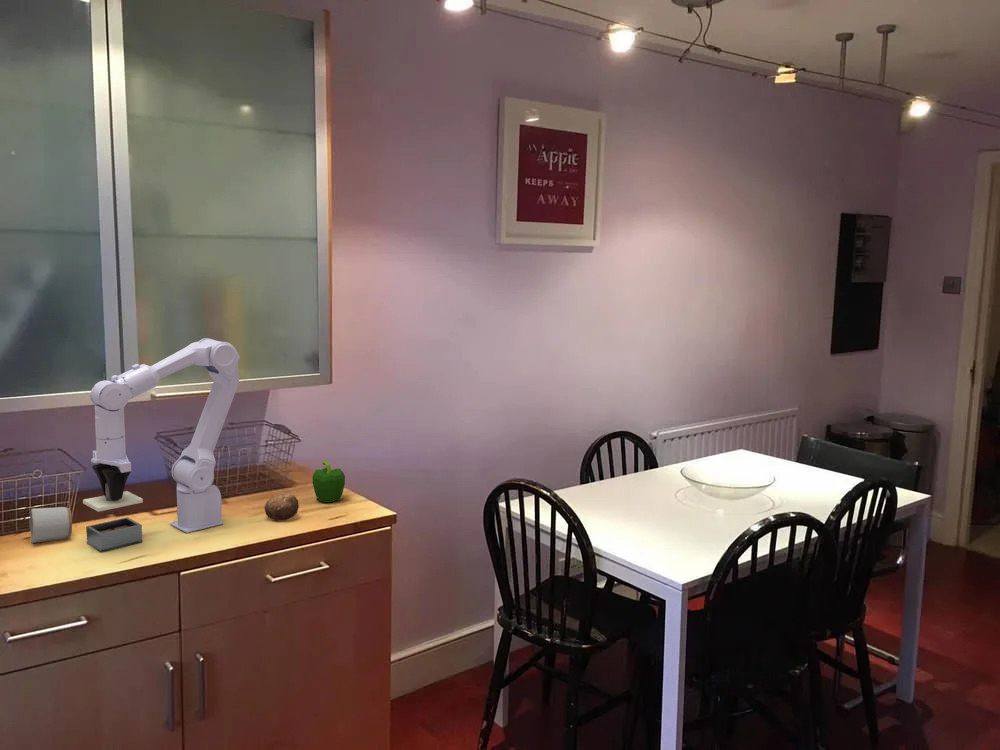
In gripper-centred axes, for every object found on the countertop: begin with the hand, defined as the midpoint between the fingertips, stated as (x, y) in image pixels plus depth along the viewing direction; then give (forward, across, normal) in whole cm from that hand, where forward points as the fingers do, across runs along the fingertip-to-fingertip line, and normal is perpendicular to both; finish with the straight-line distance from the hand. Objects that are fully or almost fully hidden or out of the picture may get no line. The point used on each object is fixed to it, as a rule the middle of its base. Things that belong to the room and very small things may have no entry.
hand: (113, 497), depth 181 cm
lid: (+1, 0, 0) cm, 1 cm away
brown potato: (+11, +10, +36) cm, 39 cm away
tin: (+10, 0, 0) cm, 10 cm away
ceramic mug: (+11, -13, -9) cm, 19 cm away
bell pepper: (+11, +6, +53) cm, 54 cm away
